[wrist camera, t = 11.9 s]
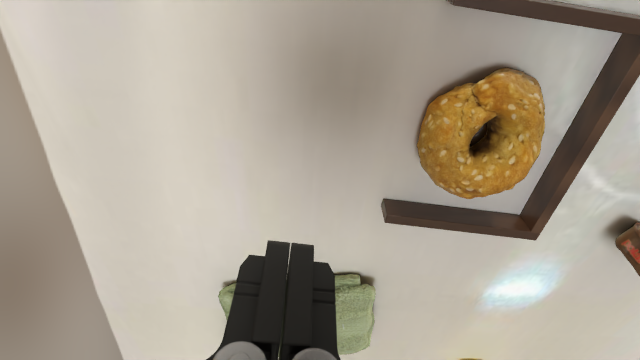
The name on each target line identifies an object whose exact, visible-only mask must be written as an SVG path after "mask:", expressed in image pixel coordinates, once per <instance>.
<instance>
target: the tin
mask: <svg viewBox="0 0 640 360" xmlns="http://www.w3.org/2000/svg"><path fill="white" fill-rule="evenodd" d="M615 242H616V246H617V248H618V249H619V250H620V251H621V252H622V253H623V254H624V256H625V257H626V258H627V260H628V261H629V262H630V263H631V265H632V266H633V267H634V269H635V270H636V272H637V273H638V275H639V276H640V223H635V224H634V226H633V227H631V228H630V229H628V230H627V231H625V232H624V233H622V234H621V235H620V236H618V237H617V239H616V241H615Z"/></svg>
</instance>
